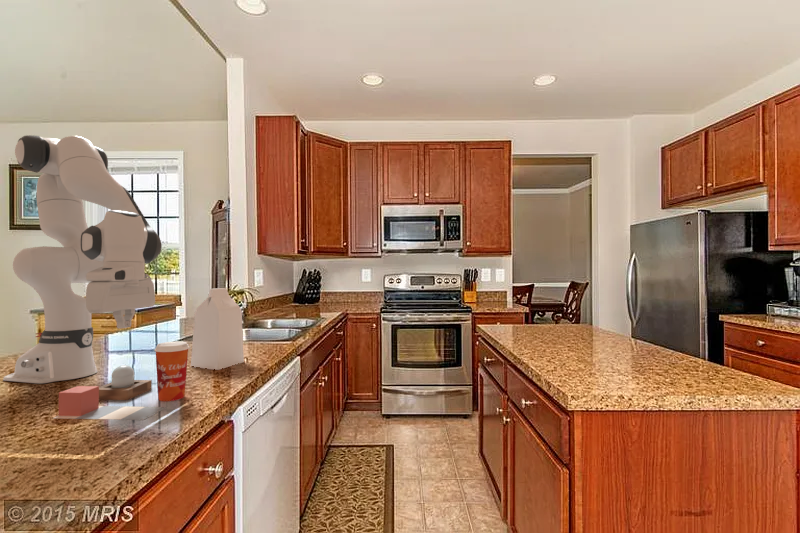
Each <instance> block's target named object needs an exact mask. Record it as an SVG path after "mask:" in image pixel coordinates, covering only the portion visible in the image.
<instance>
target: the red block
mask: <svg viewBox="0 0 800 533" xmlns="http://www.w3.org/2000/svg"><path fill="white" fill-rule="evenodd" d="M99 387H100V386H99V385H97V386H96V385H95V386H94V385H89V386H88V385H77V386H74V387H71V388H68V389H66V390H61V391H60V392H58V414H57V416H82V415H84V414H87V413H89V412H91V411H93V410H96V409H98V408H99V406H100V404H99V403H100V400H99Z"/></svg>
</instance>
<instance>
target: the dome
mask: <svg viewBox="0 0 800 533" xmlns="http://www.w3.org/2000/svg"><path fill="white" fill-rule="evenodd" d="M134 380H135V370H134V368H132V366H130V365H126V364H124V365H119V366H117V367H115V369H114V370H113V371H112V373H111V382H112V388H127V387H130V386H132V385H134Z"/></svg>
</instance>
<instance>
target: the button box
mask: <svg viewBox="0 0 800 533" xmlns="http://www.w3.org/2000/svg"><path fill="white" fill-rule="evenodd" d="M152 386H153V384H152V379H151V380H150V379H148V380H147V379H134V385H132V386H130V387H127V388H112V381H111V382H109V383H106V384H104V385H101V386H99V401H129V400H132V399H133V398H136V397H138V396H140V395H143V394H145V393H146V392H149V391H151V390H153V388H152Z"/></svg>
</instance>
